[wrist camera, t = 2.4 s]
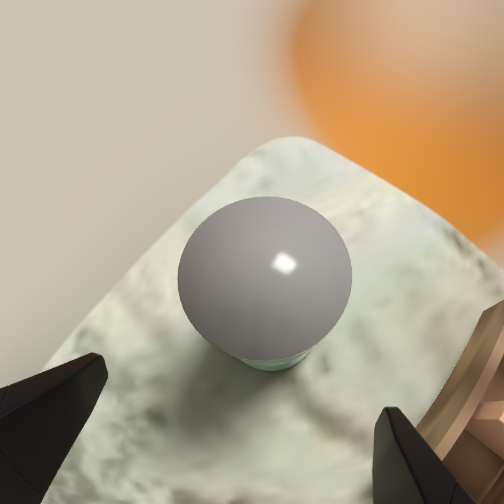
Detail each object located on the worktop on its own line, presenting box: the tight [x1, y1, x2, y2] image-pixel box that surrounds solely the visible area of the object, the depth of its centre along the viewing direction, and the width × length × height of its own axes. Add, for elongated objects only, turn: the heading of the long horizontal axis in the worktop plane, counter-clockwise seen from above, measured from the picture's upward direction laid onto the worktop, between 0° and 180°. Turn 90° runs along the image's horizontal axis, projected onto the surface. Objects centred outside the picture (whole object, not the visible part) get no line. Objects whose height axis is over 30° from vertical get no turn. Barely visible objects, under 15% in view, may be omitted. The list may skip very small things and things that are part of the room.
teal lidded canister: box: [178, 197, 352, 371], centre depth 16 cm, size 7×7×10 cm
